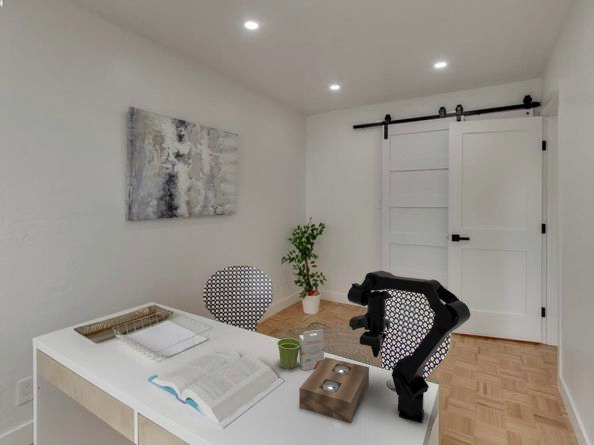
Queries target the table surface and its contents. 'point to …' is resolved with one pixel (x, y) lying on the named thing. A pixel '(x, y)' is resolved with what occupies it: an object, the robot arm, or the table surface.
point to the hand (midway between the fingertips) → (375, 356)
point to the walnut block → (335, 402)
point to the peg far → (342, 370)
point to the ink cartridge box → (311, 349)
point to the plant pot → (288, 352)
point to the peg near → (330, 386)
